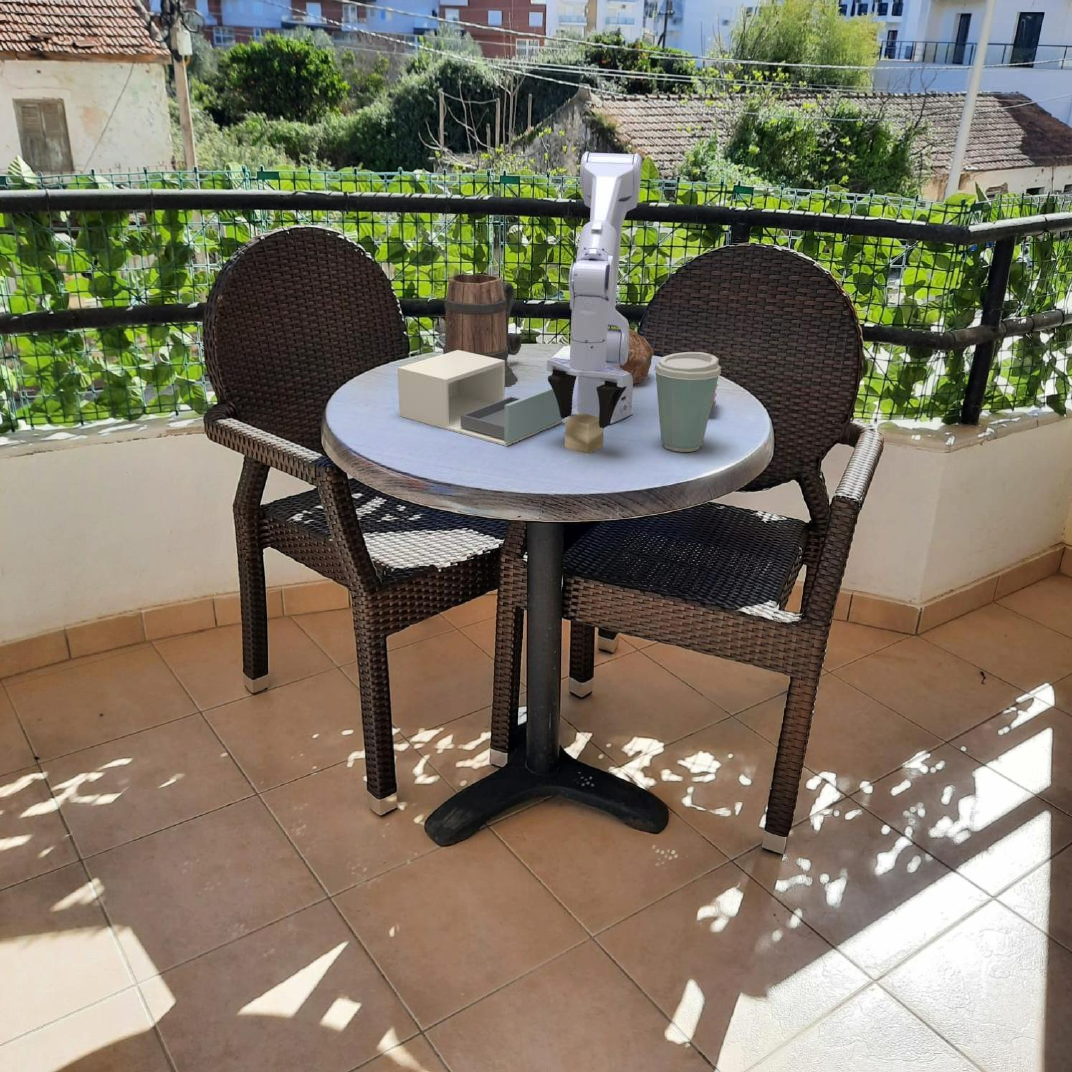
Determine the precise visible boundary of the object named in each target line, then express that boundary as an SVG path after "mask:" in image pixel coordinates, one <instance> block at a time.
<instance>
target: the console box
mask: <svg viewBox="0 0 1072 1072" xmlns="http://www.w3.org/2000/svg"><path fill="white" fill-rule="evenodd" d="M397 384H398V407H399V408H398V409H399V413H398V414H399V417H401V418H406V419H408V420H412V421H415V422H419V423H423V424H426V425H430V426H433V427H436V428H441V429H443V430H448V431H450V430H451V431H452V432H453V433H457V434H458V433H459V434H461V435H465V436H468V437H472V438H476V439H479V438H480V440H482V441H486V440H487V442H489V441H490V443H493V444H496V443H498V444H497V445H500V446H503V445H504V447H508V446H510V445H513V444H515V443H517V442H519V440H520V441H522V440H524V439H527V438H529V437H531V436H533V435H536V434H538V433H541V432H543V431H545V430H547V428H548V429H551V428H553V427H554V425H555V426H557V425H559V424H561V423H563V420H561V421H558V422H556V423H554V424H551V425H549V426H547V427H544V428H542V429H539V430H537V431H535V432H532V433H530V434H528V435H525V436H523V437H521V438H518V439H516V440H514V441H511V442H509V443H507V442H504V439H502V438H498V437H495V436H491V435H488V434H484V433H481V432H477V431H473V430H470V429H466V428H463V427H461V416H460V415H462V414H465V413H468V412H470V411H473V410H476V409H479V408H481V407H484V406H487V405H489V404H492V403H495V402H497V401H500V400H503V399H505V398H506V395H505V391H506V388H505V360H501V359H496V358H492V357H487V356H483V355H478V354H474V353H469V352H465V351H461V350H456V351H453V352H449V353H446V354H440V355H437V356H433V357H429V358H426V359H423V360H420V361H416V362H412V363H409V364H406V365H403V366H399V367H397ZM542 430H543V431H542ZM451 431H450V432H451ZM540 431H541V432H540ZM512 443H513V444H512Z"/></svg>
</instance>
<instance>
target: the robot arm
mask: <svg viewBox="0 0 1072 1072" xmlns="http://www.w3.org/2000/svg"><path fill="white" fill-rule="evenodd" d="M642 164H643V160H642V156H641V155H640V154H639V153H638V152H636V153H635V154H633V153H632V154H631V153H610V152H609V153H608V152H607V153H606V152H605V153H604V152H590V151H585V152H584V153H583V155H582V156H581V159H580V166H579V168H580V170H579V184H580V185H579V186H580V189H581V196H582V197H581V198H582V199H583V203H584V206H586V207H588V208H590V213H589V215H590V217H589V221H588V222H587V223H586V224H584V225H583V226H582V228H581V231H580V235H579V241H578V245H577V251H576V253H577V254H576V258H575V263H574V262H572V263H571V265H570V267H569V273H568V292H569V309H570V310H571V320H570V321H571V322H570V345H569V346H570V349H569V350H570V351H569V358H561V357H551V358H547V360H546V372H551V374H550V375H548V376H547V381H548V383H549V385H550V388H551V387H552V389H553V391H554V394H555V396H556V399H557V403H558V407H559V411H560V416H561V418H564V419H567V418H569V417H572V416H574V415H577V414H579V413H585V414H589V415H593V416H598V417H599V427H600V428H604V429H605V428H607V427H610V425H612V424H614V423H617V422H619V421H620V420H622V419H625V418H627V417H630V416H631V415H633V414H634V411H633V410H632V403H633V402H632V401H633V393H634V392H633V391H634V390H633V389H634V383H633V378H632V375H631V374H630V373H629V372H627V371H624V370H623V369H621V368H620V365H624V364H625V363H626V362H627V358H628V349H629V328H630V324H629V321H628V319H627V318H626V317H625V316H623V315H622V314H621V313H620V312H619V311H618V310H617V309H616V306H617V305H616V304H617V291H618V280H619V279H618V278H619V269H620V268H619V267H620V266H619V265H620V257H621V244H622V231H623V224H624V221H625V218H626V216H627V212H629V211H631V210H633V209H635V208H637V205H638V202H639V199H640V198H639V197H640V189H641V188H640V187H641V182H642V181H641V180H642V166H643V165H642ZM609 327H610V328H609ZM577 378H578V379H577ZM576 380H577V381H578V382H577V399H576V400H577V402H576V407H574V408H573V397H574V396H573V394H574V389H575V385H576Z"/></svg>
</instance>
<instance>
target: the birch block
mask: <svg viewBox="0 0 1072 1072" xmlns="http://www.w3.org/2000/svg"><path fill="white" fill-rule="evenodd" d="M604 429H605V428H600V427H599V417H598V416H593V415H589V414H585V413H579V414H577V415H571V416H569V417H567V418H565V432H564V435H565V436H564V449H568V450H571V451H575V452H578V453H583V454H586V455H588V454H590V453H592V452H594V451H597V450H599V449H601V448H603V446H604V432H605V431H604Z"/></svg>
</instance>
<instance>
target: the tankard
mask: <svg viewBox="0 0 1072 1072" xmlns="http://www.w3.org/2000/svg"><path fill="white" fill-rule="evenodd" d="M515 293H516V292H515V287H514V284H512V283H511V282H506V281H503V280H502V278H501V277H499V276H497V275H491V274H484V273H481V274H479V273H478V274H465V273H458V274H453V275H450V277H449V278H448V284H447V291H446V296H445V297H444V308H445V323H444V324H445V325H444V327H445V328H444V329H445V330H444V331H445V332H444V345H443V346H442V347H443V350H442V351H443V352H442V353H443V354H446V353H449V352H453V351H456V350H461V351H465V352H469V353H474V354H478V355H483V356H487V357H492V358H496V359H501V360H505V387H508V388H511V387H513V386H514V385H516V384H517V383H518V381H519V379H518V376H516V375H515V373H514V372H513V369H512V368H511V367H510V366H508V358H509V355H510V356H516V355H517V354H518V353H519V351H520V350H521V347H522V342H523V341H522V340H523V339H522V337H521V335H520V334H519V333H515V332H514V333H513V332H509V325H510V324H509V322H510V317H511V316H510V315H511V311H512V309H513V305H514V300H515ZM516 382H517V383H516ZM512 385H513V386H512Z"/></svg>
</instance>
